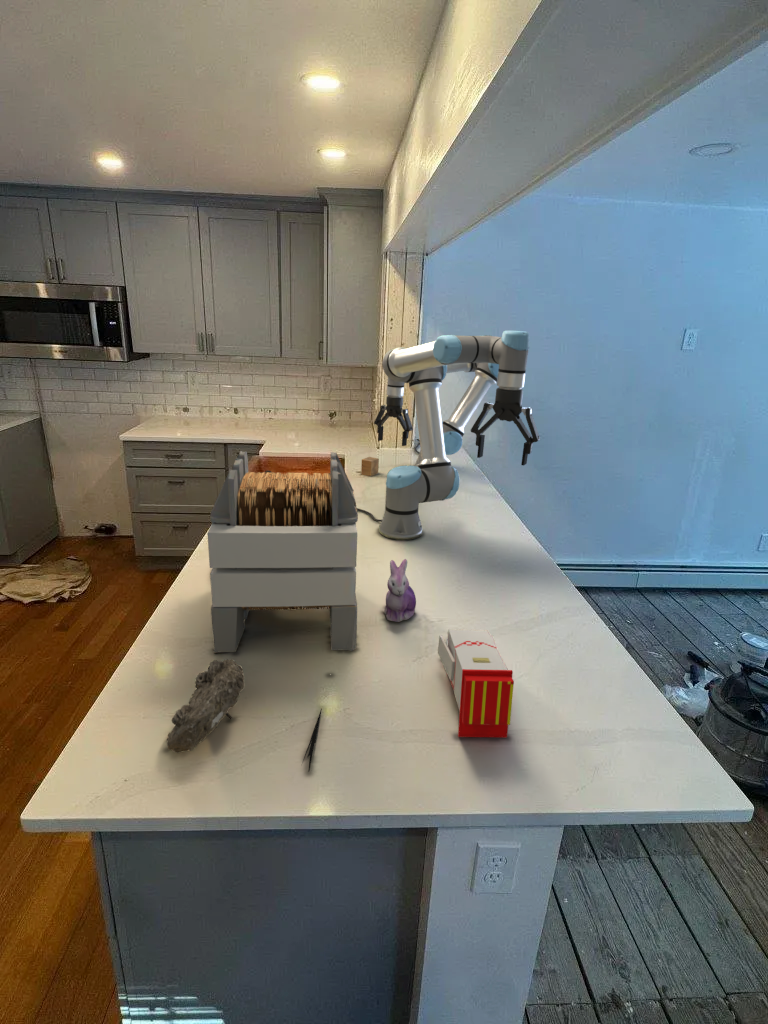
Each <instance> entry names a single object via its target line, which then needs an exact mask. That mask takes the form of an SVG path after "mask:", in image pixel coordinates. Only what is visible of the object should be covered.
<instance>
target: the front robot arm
mask: <svg viewBox="0 0 768 1024" xmlns="http://www.w3.org/2000/svg"><path fill="white" fill-rule="evenodd" d="M529 349H530V333H529V332H528V331H525V330H523V331H522V330H504V331H503V332H502V335H501V336H495V335H490V334H489V335H487V334H484V335H457V334H456V335H454V334H446V335H445V334H443V335H440V336H439V335H438V337H437V338H436V339H435V340H434V341H429V342H426V343H423V344H418V345H415V346H412V347H401V346H399V347H395V348H391V349H390V350H388V351H387V352H385V354H384V356H383V359H382V363H381V364H382V370H383V372H384V374H385V375H386V377H387V378H388V377H389V378H390V379H392V380H394V381H397V382H409V383H408V388H409V390H410V391H411V392H413V395H414V404H415V411H416V412H415V413H416V422H417V430H418V439H419V440H420V442H419V443H420V445H419V448H420V450H421V457H422V460H421V462H420V463H419V464H418V467H417V466H416V465H412V464H411V465H407V464H405V465H398V466H395V467H393V468H391V469H390V470H389V471H388V472H387V475H386V479H385V504H384V505H385V507H384V508H385V509H384V513H383V515H382V519H378V518H376V517H375V515H374V514H373V513H371V512H369V511H367V510H364V509H361V508H358V507H356V508H357V512H362V513H364V514H367V515H369V516H370V517H371V519H372V520H373V521H375V522H378V523H379V525H378V533H379V534H380V535H381V536H382V537H385V538H387V539H389V540H395V541H410V540H415V539H418V538H420V537H421V536H422V535H423V525H422V520H421V518H420V515H419V507H420V506H419V505H420V504H423V503H431V502H441V501H446V500H449V499H452V498H454V497H455V496H456V495H457V493H458V490H459V488H460V483H461V482H460V473H459V472H458V469H457V468H456V467H454V466H452V462H451V460H450V459H449V458H448V457H447V455H445V446H444V437H443V428H442V422H443V419H442V411H441V403H440V402H441V401H440V393H439V390H440V388H441V387H442V385H443V381H444V380H445V378H446V376H447V373H446V372H447V365H449V364H455V363H494V364H499V369H498V379H497V383H496V386H497V388H496V390H495V398H494V403H491V401H487V402H484V403H483V407H482V409H481V412H480V414H479V415H478V417H477V419H476V420H475V422H474V423H473V425H472V427H471V428H470V432H471V433H473V434H475V446H476V447H477V454H476V458H477V459H480V458H483V456H484V449H485V439H486V438H485V437H486V435H485V434H484V433H485V432H486V431H487V430H488V429H489V428H490V427H491V426H492V425H493V424H494V423H495V422H496V421H497V420H499V421H502V422H503V421H506V422H513V424H514V425H516V427H517V428H518V430H519V432H520V434H521V435H522V437H523V438H524V440H525V442H524V443H523V449H522V456H521V463H520V464H521V465H520V466H525V465H527V463H528V457H529V455H531V453H532V452H533V444H534V443H537V442H539V441H540V440H541V436H540V434H539V431H538V428H537V424H536V422H535V419H534V416H533V407H532V406H529V407H523V406H522V404H523V396H524V390H523V388H524V387H525V380H526V371H527V365H528V356H529ZM491 410H493V412H494V414H493V415H492V416H491V417H490V418H489V419H488V420H487V422H485V423H484V424H483V425H482V423H483V422H484V420H485V419H486V417H487V415H488V413H490V411H491ZM522 413H523V416H525V420H526V423H527V425H528V428H529V429H528V428H527V427H526V424H525V423H524V422H523V419H522V417H521V416H520V415H521V414H522ZM481 425H482V426H481ZM264 472H265V473H267V472H272V471H271V470H268V469H267V470H265V471H264Z"/></svg>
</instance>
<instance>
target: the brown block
mask: <svg viewBox="0 0 768 1024" xmlns="http://www.w3.org/2000/svg"><path fill="white" fill-rule="evenodd" d="M379 462H380V458H377V457H372V456H368V457H365V458H362V459H361V467H360V468H361V470H360V474H361V475H362V476H368V477H373V476H376V475H378V474H379V465H380V464H379Z"/></svg>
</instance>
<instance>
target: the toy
mask: <svg viewBox="0 0 768 1024" xmlns="http://www.w3.org/2000/svg"><path fill="white" fill-rule="evenodd" d="M446 640H447V643H446V641H445V639H444V636H443V635H442V634H439V637H438V646H437V656H438V657H439V659H440V661H441V663H442V666H443V668H444V670H445V672H446V674H447V677H448V679H449V681H450V684H451V687H452V690H453V693H454V697H455V701H456V705H457V708H458V711H459V714H458V715H459V716H458V730H457V731H458V732H457V737H458V738H508V731H509V726H510V725H511V717H512V707H513V697H514V696H513V695H514V684H515V680H514V679H513V673H514V671H513V670H512V669H508V667H507V665H506V662H505V661H504V659H503V658H502V655H501V653H500V651H499V649H498V647H497V643H496V639H495V637H494V635H493V634H491V632H490V631H489V629H467V628H466V629H465V628H463V629H461V628H460V629H459V628H448V630H447V639H446Z"/></svg>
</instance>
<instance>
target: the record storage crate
mask: <svg viewBox="0 0 768 1024" xmlns="http://www.w3.org/2000/svg"><path fill="white" fill-rule="evenodd" d="M329 465H330V466H329V467H330V469H329V470H330V472H324V473H321V472H313V474H309V473H308V472H286V473H285V472H284V473H283V472H274V471H273V472H272V471H271V472H267V473H265V471H263V472H260V471H259V472H258V471H257V472H255V471H249V459H248V451H242V450H240V451H239V453H238V455H237V457H236V458H235V460H234V463H233V465H232V467H231V468H230V469H229V471H228V473H227V475H226V477H225V480H224V482H223V484H222V487H221V489H220V491H219V493H218V496H217V498H216V500H215V502H214V504H213V507H212V508H211V511H210V514H209V519H210V523H211V525H210V527H209V529H208V531H207V532H206V534H207V548H208V562H209V563H208V565H209V569H211V570H210V573H209V575H210V576H209V577H210V590H211V591H210V592H211V593H210V594H211V606H210V617H211V633H212V637H213V638H212V639H213V649H212V652H213V653H214V654H215V653H216V654H220V653H236V652H237V649H238V647H239V645H240V642H241V639H242V637H243V635H244V632H245V625H246V624H245V621H247V619H248V615H249V611H268V610H270V611H273V610H274V611H275V610H277V611H278V610H279V611H280V610H284V611H286V610H290V611H291V610H294V611H295V610H325V609H326V610H329V619H330V621H329V622H330V623H329V625H330V626H329V627H330V628H329V629H330V650H331V651H351V652H353V651H354V650H355V649H357V638H358V635H357V631H358V602H357V601H358V600H357V593H356V590H357V589H356V588H357V569H356V568H357V555H358V553H357V551H358V529H357V522H358V519H359V513H358V510H357V508H358V507H357V502H356V497H355V493H354V488H353V486H352V484H351V481H350V479H349V478H348V475H347V473H346V471H345V469H344V466H343V464H342V461H341V460H340V458H339V456H338V453H337V452H333V451H330V463H329Z"/></svg>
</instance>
